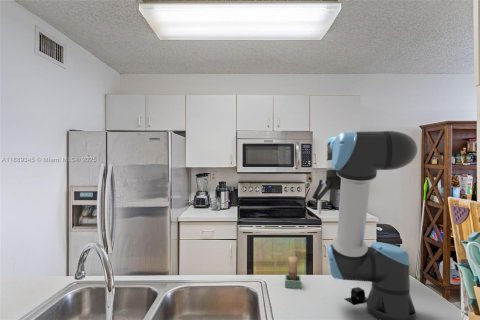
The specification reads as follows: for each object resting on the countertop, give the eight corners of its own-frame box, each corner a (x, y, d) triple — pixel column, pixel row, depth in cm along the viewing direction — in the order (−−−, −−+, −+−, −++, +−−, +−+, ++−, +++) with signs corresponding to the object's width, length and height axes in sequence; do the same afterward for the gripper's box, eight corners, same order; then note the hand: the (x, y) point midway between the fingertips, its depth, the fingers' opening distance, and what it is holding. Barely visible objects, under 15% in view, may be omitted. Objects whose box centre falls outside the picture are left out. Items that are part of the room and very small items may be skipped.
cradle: (301, 288, 114) (301, 281, 114) (285, 287, 115) (285, 280, 115) (300, 282, 121) (300, 275, 121) (285, 281, 122) (285, 274, 122)
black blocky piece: (352, 308, 99) (352, 295, 99) (338, 299, 106) (338, 287, 106) (377, 302, 104) (377, 290, 104) (362, 294, 111) (362, 283, 111)
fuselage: (297, 287, 116) (297, 258, 116) (288, 286, 116) (288, 257, 117) (296, 283, 119) (296, 255, 120) (288, 282, 120) (288, 255, 120)
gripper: (364, 171, 125) (364, 218, 122) (313, 171, 141) (311, 213, 137) (360, 168, 119) (359, 218, 116) (306, 169, 135) (304, 212, 132)
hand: (333, 215), depth 127 cm, fingers open, 13 cm apart
